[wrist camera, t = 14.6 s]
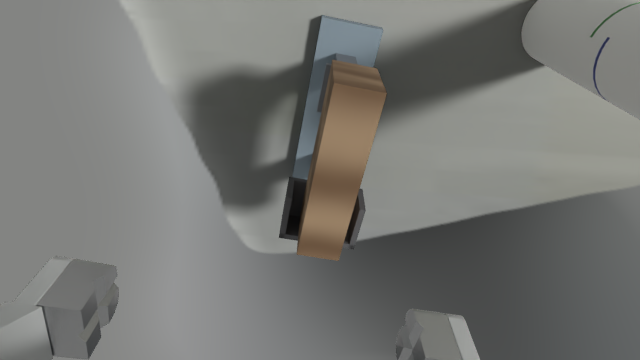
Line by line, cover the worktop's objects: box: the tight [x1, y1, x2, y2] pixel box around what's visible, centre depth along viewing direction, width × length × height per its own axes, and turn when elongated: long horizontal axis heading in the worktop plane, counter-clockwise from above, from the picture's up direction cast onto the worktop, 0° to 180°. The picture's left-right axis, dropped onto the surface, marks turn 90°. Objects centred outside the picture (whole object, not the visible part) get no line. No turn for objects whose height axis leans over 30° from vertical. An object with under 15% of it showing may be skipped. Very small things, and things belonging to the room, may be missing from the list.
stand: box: [279, 15, 383, 249], centre depth 39 cm, size 18×7×13 cm, turn 169°
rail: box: [297, 60, 387, 261], centre depth 33 cm, size 15×4×6 cm, turn 169°
